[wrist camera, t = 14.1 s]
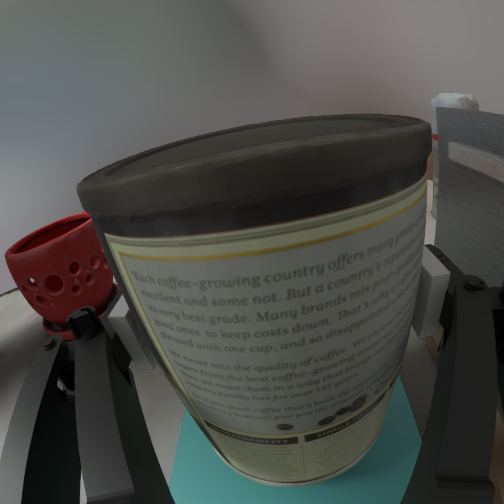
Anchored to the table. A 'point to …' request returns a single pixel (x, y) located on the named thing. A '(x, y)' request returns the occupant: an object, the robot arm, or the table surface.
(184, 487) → the pad
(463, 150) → the mounted unit
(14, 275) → the plant pot
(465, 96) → the spray can
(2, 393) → the table surface
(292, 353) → the coffee can
